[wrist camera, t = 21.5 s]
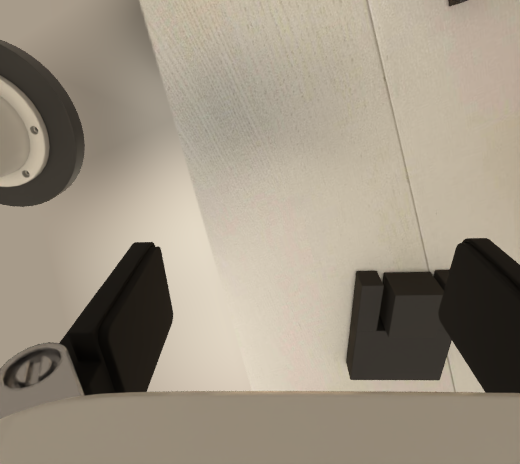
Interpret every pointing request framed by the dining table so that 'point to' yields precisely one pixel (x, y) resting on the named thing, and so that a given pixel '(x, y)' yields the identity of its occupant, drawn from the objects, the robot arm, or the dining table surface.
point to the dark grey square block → (410, 305)
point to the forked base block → (390, 339)
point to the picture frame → (455, 2)
